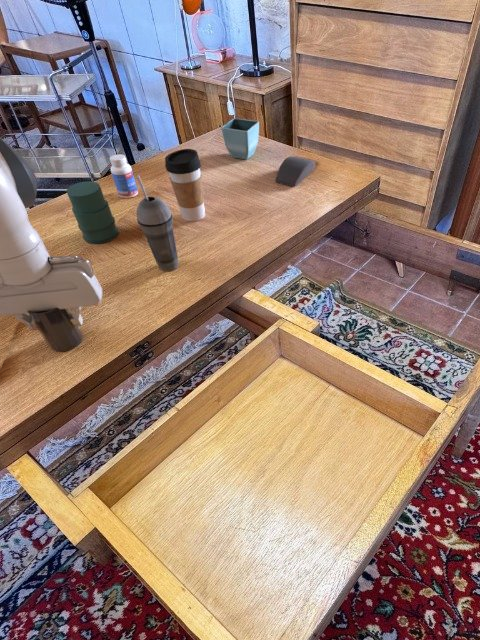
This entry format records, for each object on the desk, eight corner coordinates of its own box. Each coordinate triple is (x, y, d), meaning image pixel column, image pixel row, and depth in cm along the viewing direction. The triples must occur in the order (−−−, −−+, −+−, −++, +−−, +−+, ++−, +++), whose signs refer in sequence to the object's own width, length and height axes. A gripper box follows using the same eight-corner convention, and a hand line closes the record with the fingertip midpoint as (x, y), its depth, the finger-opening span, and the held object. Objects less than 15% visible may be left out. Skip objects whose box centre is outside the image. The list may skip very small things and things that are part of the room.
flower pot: (262, 152, 140) (259, 120, 133) (250, 163, 135) (247, 131, 128) (237, 149, 143) (233, 117, 136) (224, 159, 137) (220, 127, 130)
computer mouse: (318, 169, 132) (319, 154, 129) (296, 188, 124) (296, 173, 121) (295, 164, 134) (294, 150, 131) (272, 182, 127) (271, 167, 124)
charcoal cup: (46, 353, 83) (22, 316, 76) (52, 331, 87) (30, 294, 80) (80, 349, 83) (59, 311, 77) (84, 328, 87) (65, 290, 80)
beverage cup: (174, 277, 98) (148, 186, 82) (146, 271, 100) (116, 181, 84) (190, 260, 102) (169, 170, 87) (163, 254, 104) (137, 165, 88)
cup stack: (81, 245, 107) (60, 199, 98) (86, 227, 112) (67, 181, 103) (117, 242, 108) (100, 195, 99) (120, 224, 113) (104, 178, 104)
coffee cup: (215, 217, 114) (205, 156, 103) (185, 227, 112) (171, 165, 100) (201, 204, 119) (189, 144, 107) (172, 214, 116) (157, 153, 104)
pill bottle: (134, 199, 122) (122, 162, 114) (115, 198, 122) (103, 161, 115) (141, 190, 125) (130, 153, 118) (123, 189, 126) (111, 152, 118)
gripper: (88, 243, 75) (116, 308, 85) (-39, 256, 73) (5, 321, 83) (83, 264, 71) (112, 330, 81) (-52, 278, 69) (-4, 343, 79)
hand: (57, 325), depth 82 cm, fingers closed on charcoal cup, 6 cm apart
